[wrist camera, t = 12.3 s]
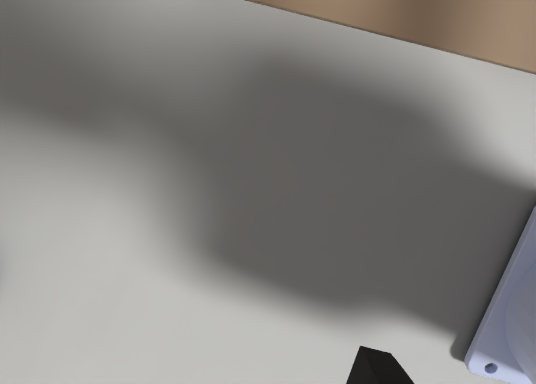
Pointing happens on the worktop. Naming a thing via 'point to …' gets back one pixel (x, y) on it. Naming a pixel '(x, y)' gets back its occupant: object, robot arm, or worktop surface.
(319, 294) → the worktop surface
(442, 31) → the post board
